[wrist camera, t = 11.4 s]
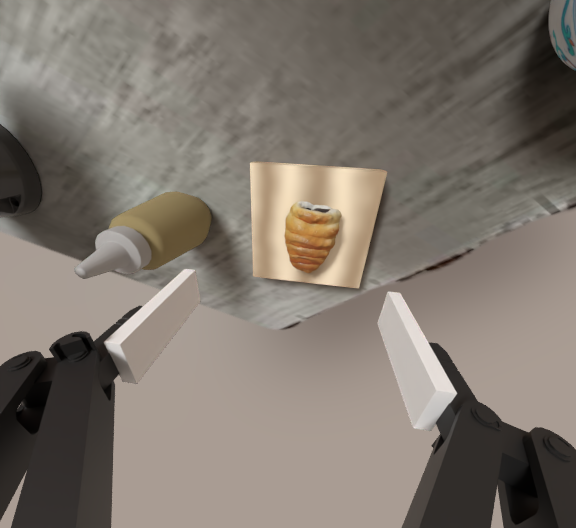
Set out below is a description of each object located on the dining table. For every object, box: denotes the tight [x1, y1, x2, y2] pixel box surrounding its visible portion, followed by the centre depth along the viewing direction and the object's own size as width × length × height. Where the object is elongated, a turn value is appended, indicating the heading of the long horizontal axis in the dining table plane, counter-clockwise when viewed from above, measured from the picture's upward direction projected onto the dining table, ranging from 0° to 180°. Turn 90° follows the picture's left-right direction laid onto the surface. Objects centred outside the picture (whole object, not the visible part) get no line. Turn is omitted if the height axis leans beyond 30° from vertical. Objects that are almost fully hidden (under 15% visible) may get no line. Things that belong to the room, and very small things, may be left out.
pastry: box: [284, 201, 342, 273], centre depth 28 cm, size 9×7×4 cm
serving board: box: [250, 162, 387, 288], centre depth 31 cm, size 16×16×3 cm
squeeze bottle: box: [75, 192, 212, 279], centre depth 26 cm, size 8×8×18 cm
